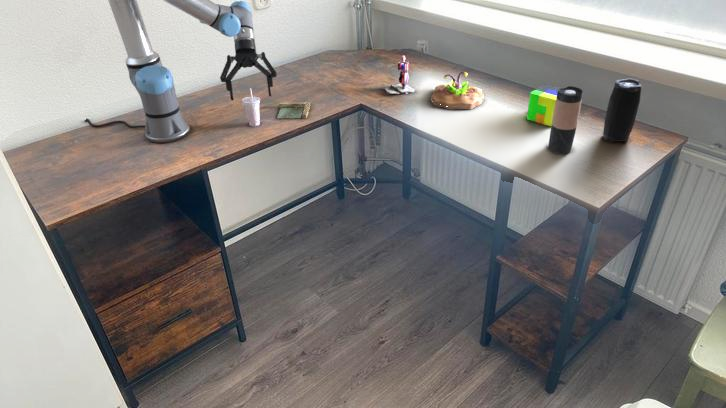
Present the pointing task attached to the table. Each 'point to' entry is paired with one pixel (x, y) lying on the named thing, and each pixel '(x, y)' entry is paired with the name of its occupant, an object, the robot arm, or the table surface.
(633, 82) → the portable speaker
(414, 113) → the table surface
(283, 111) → the corner guide
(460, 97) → the plant
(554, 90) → the puzzle toy
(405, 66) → the statue
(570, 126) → the travel mug
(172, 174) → the table surface
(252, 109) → the smoothie
